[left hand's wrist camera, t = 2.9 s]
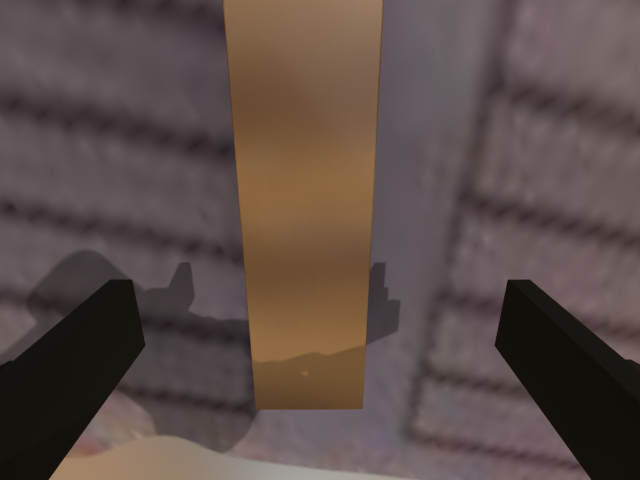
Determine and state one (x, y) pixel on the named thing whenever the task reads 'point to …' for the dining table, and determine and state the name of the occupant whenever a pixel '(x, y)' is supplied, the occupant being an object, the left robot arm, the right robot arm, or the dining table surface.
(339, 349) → the post
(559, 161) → the dining table surface
